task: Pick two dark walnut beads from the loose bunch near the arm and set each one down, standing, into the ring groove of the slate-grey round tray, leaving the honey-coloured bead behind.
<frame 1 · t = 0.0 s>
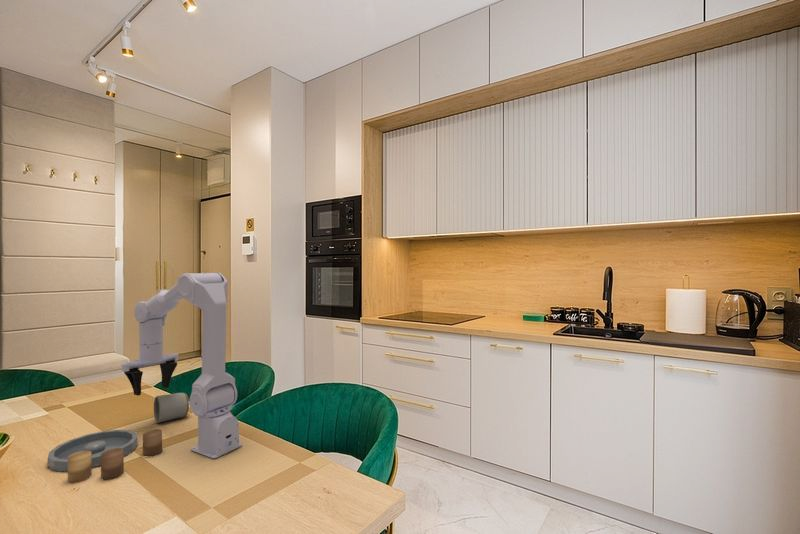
hand: (151, 390, 112), 10 cm above the table, tool pointing down, fingers open, 7 cm apart
bead a: (152, 453, 96), on the table
bead b: (112, 475, 86), on the table
tray: (95, 453, 96), on the table
ceramic mug: (169, 418, 119), on the table
bead c: (79, 477, 85), on the table
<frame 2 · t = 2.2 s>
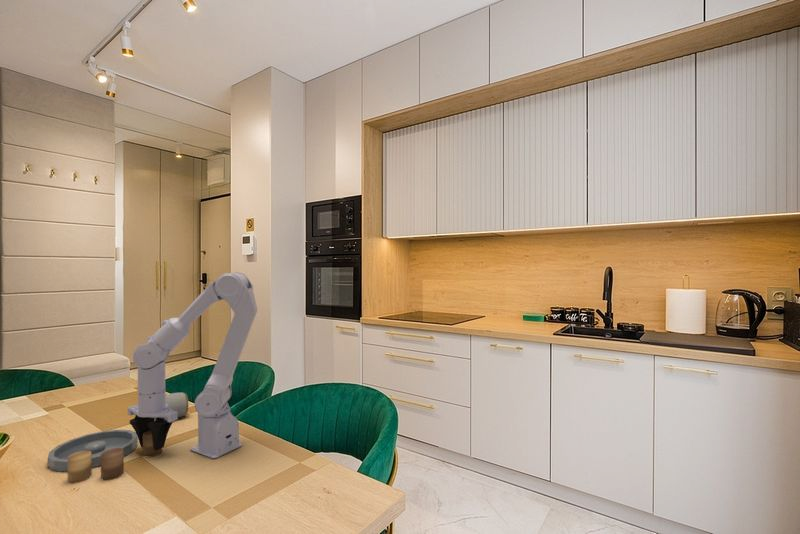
hand: (152, 447, 96), 1 cm above the table, tool pointing down, fingers closed on bead a, 4 cm apart
bead a: (152, 453, 96), on the table, touching gripper
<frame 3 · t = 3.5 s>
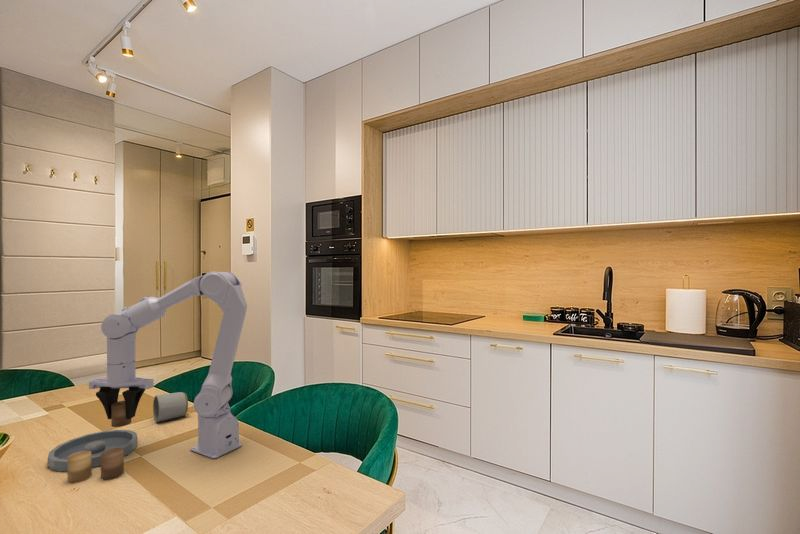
hand: (121, 417, 96), 9 cm above the table, tool pointing down, fingers closed on bead a, 4 cm apart
bead a: (121, 423, 96), point 7 cm above the table, touching gripper
everything else where it was.
when the fingers open (4 cm above the table, at t = 4.9 s): bead a drops 2 cm, resting on tray.
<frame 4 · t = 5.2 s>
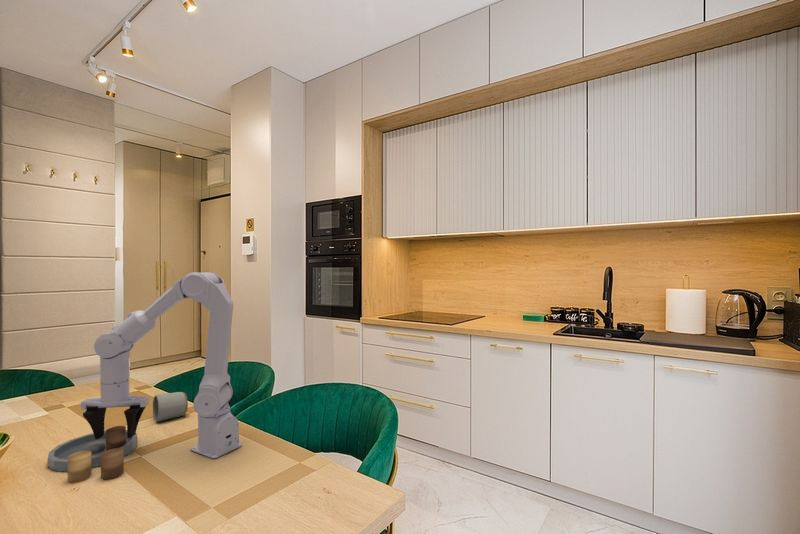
hand: (115, 436, 96), 4 cm above the table, tool pointing down, fingers open, 7 cm apart
bead a: (116, 449, 96), point 1 cm above the table, touching tray
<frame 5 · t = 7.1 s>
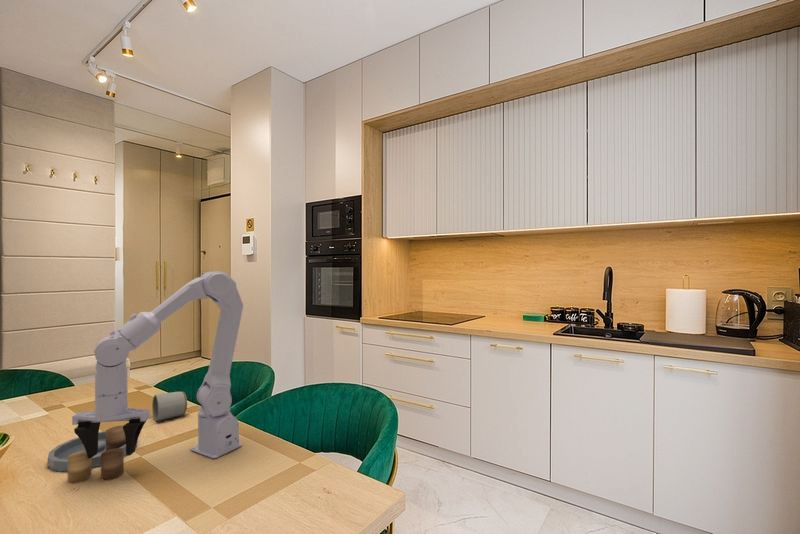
hand: (111, 454, 86), 4 cm above the table, tool pointing down, fingers open, 7 cm apart
bead c: (79, 477, 85), on the table, touching gripper
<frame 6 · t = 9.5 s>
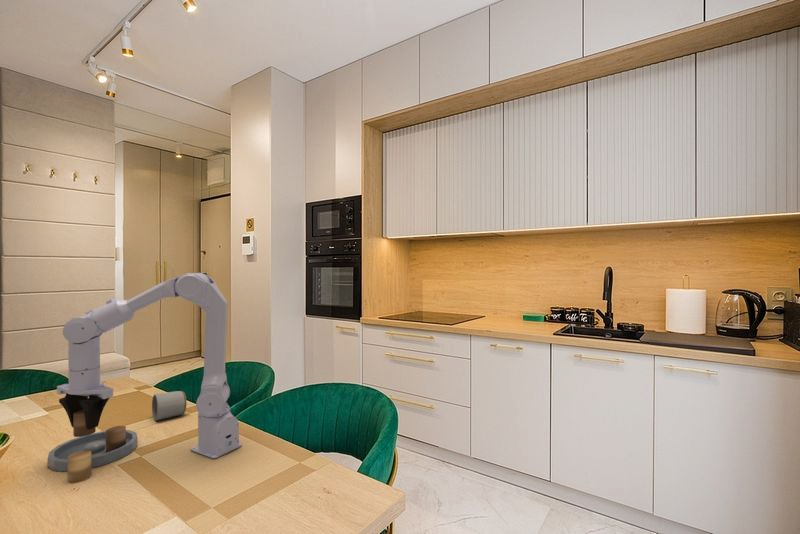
hand: (85, 426, 91), 8 cm above the table, tool pointing down, fingers closed on bead b, 4 cm apart
bead b: (84, 433, 91), point 7 cm above the table, touching gripper
bead c: (79, 477, 85), on the table
when the fingers open (4 cm above the table, at t = 10.8 s): bead b drops 2 cm, resting on tray.
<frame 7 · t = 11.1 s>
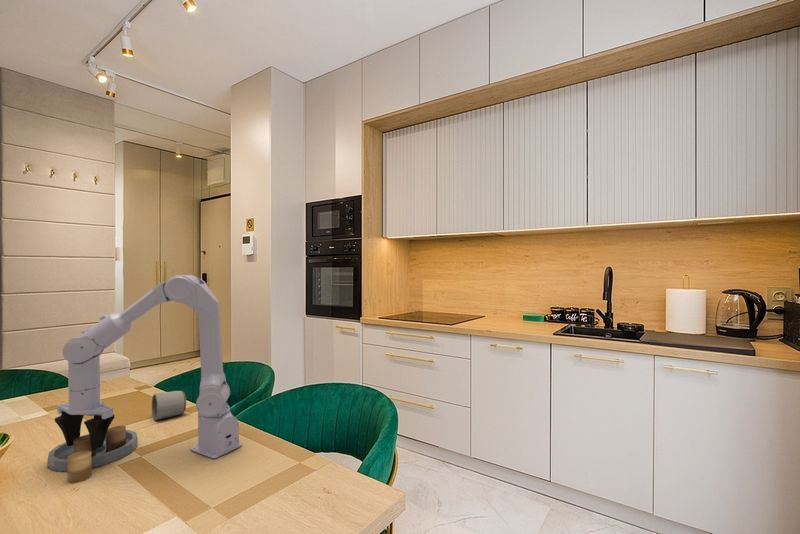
hand: (85, 446, 91), 4 cm above the table, tool pointing down, fingers open, 7 cm apart
bead b: (84, 459, 91), point 1 cm above the table, touching tray
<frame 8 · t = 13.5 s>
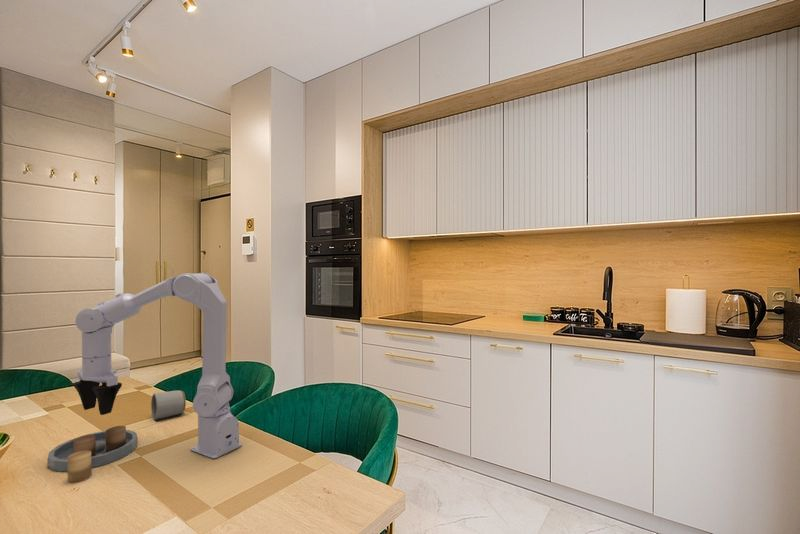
hand: (97, 411, 97), 10 cm above the table, tool pointing down, fingers open, 7 cm apart
at the end: bead a 0.1 cm from the target spot on the tray, point 0.8 cm above the tray's base; bead b 0.1 cm from the target spot on the tray, point 0.8 cm above the tray's base; bead b tilted 0° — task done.
